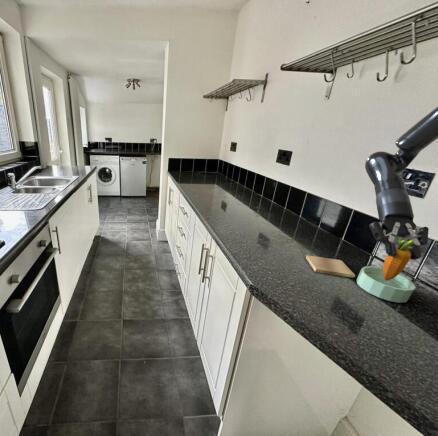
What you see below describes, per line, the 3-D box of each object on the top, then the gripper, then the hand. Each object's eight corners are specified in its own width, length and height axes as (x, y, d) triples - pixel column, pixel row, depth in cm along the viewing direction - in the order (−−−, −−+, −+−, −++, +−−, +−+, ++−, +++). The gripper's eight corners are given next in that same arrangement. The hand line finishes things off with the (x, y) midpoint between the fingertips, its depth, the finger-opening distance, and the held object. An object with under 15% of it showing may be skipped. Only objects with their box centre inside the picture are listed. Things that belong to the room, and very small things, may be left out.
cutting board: (340, 262, 89) (341, 260, 89) (354, 278, 80) (355, 275, 80) (305, 257, 92) (306, 255, 91) (315, 271, 83) (316, 268, 83)
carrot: (372, 274, 76) (392, 233, 71) (392, 278, 74) (414, 236, 69) (378, 282, 72) (399, 240, 66) (400, 287, 70) (423, 244, 64)
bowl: (390, 282, 79) (397, 270, 77) (418, 307, 68) (427, 293, 66) (348, 275, 81) (354, 263, 80) (369, 298, 70) (376, 285, 69)
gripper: (375, 198, 72) (384, 250, 66) (432, 203, 69) (447, 258, 63) (359, 208, 79) (366, 256, 73) (410, 213, 76) (422, 264, 69)
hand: (403, 257), depth 68 cm, fingers closed on carrot, 5 cm apart
